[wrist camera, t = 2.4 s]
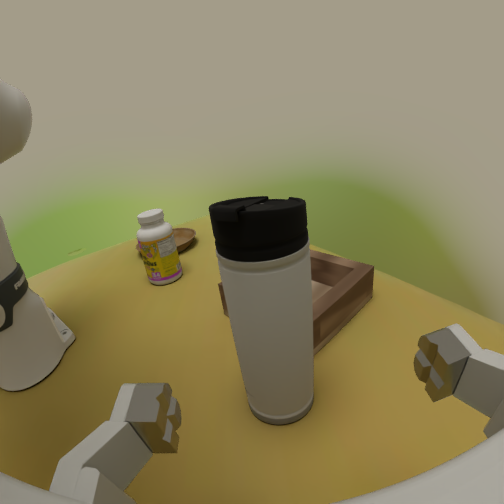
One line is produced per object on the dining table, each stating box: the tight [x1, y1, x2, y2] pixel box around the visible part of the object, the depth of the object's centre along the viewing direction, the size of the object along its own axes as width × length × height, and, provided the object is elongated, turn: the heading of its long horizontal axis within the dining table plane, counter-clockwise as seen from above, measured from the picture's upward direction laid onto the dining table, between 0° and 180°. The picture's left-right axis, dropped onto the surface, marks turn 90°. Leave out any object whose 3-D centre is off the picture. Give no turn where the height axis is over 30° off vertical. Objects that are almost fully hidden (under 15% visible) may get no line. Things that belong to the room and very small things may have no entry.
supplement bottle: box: [137, 209, 182, 285], centre depth 53 cm, size 7×7×13 cm
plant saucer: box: [136, 228, 196, 253], centre depth 69 cm, size 15×15×3 cm
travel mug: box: [209, 196, 314, 425], centre depth 23 cm, size 6×7×20 cm
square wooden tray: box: [218, 250, 374, 356], centre depth 40 cm, size 15×15×5 cm
